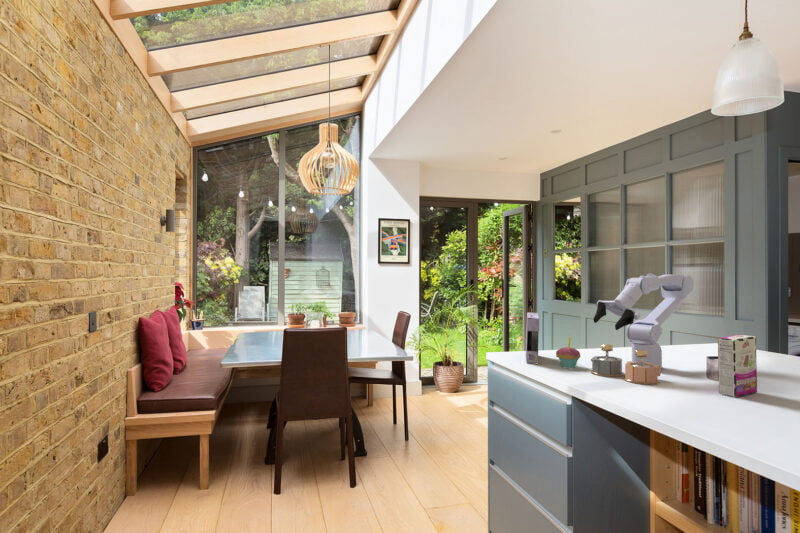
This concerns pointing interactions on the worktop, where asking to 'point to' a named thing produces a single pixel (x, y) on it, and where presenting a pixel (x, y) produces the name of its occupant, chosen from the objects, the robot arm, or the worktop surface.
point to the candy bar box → (737, 365)
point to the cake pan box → (532, 337)
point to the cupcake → (568, 356)
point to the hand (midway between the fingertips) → (605, 324)
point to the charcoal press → (607, 366)
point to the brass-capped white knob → (641, 357)
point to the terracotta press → (642, 373)
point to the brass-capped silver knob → (606, 348)
